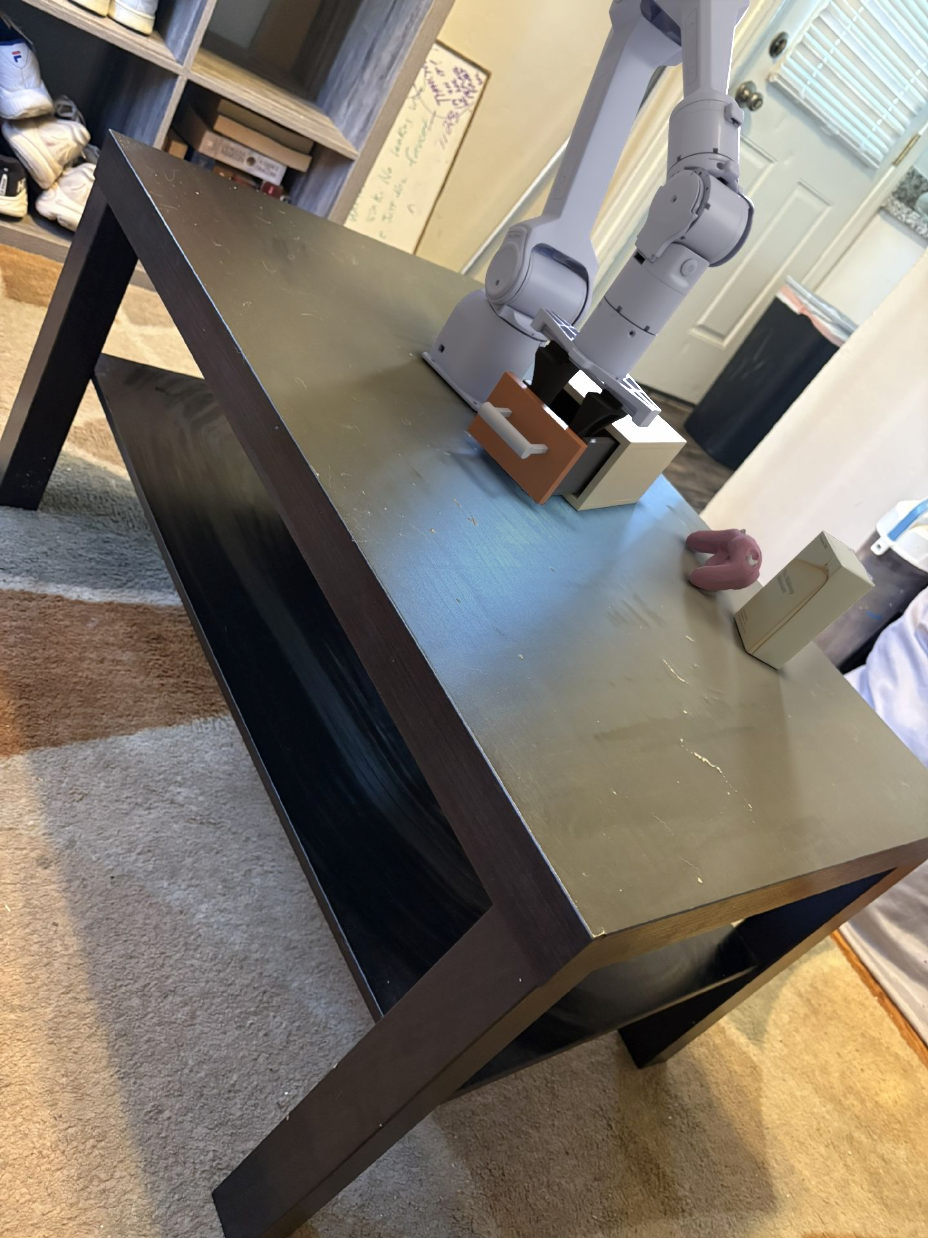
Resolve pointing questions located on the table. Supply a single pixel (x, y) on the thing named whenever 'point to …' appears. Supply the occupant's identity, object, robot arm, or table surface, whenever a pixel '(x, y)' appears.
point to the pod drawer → (539, 440)
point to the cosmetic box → (802, 600)
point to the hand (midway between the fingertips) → (541, 439)
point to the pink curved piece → (725, 559)
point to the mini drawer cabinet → (625, 457)
